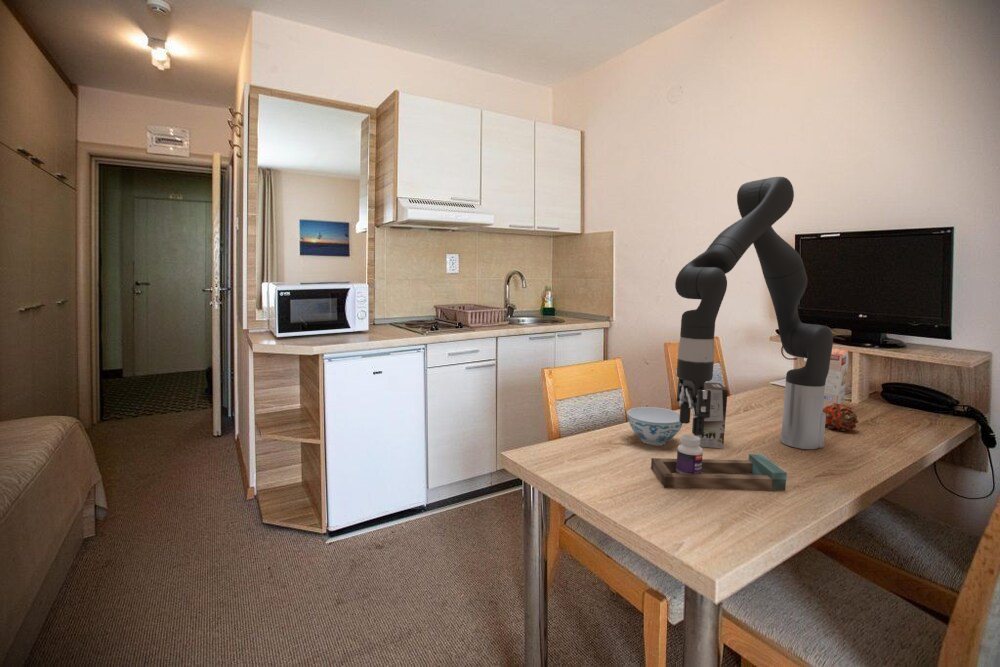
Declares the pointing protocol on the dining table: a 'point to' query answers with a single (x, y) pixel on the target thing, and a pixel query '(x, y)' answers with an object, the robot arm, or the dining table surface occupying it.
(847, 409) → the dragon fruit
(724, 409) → the coffee box
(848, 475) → the dining table surface
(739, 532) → the dining table surface
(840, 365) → the cracker box
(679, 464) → the pill bottle
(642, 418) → the chinaware
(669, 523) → the dining table surface
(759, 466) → the channel
